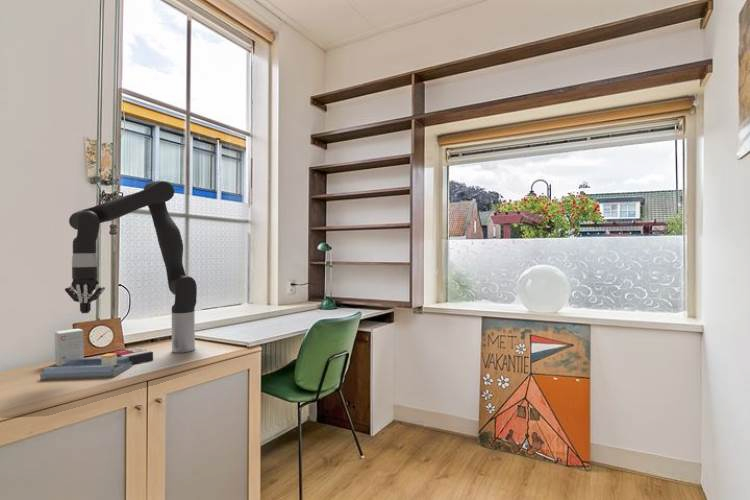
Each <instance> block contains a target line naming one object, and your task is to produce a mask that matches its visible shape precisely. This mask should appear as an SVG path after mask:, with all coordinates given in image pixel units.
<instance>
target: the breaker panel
mask: <svg viewBox="0 0 750 500" xmlns="http://www.w3.org/2000/svg"><path fill="white" fill-rule="evenodd" d="M132 367H133V365H132V361H129V357H117V364H116V365H115V366H114V365H101V357H84V358H72V359H66V360H65V364H63V365H60V366H58V365H57V366H47V367H45V368H43V372H42V373H40V375H39V377H40V378H39V379H40V381H48V380H51V381H52V380H72V379H74V380H75V379H76V380H77V379H80V380H81V379H100V378H101V379H102V378H116V377H117V376H118V375H120V374H122V373H124V372H125V371H127V370H129V369H130V368H132Z"/></svg>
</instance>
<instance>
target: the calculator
mask: <svg viewBox="0 0 750 500" xmlns="http://www.w3.org/2000/svg"><path fill="white" fill-rule="evenodd" d="M111 353H117V357H129V361H132V366H133V365H137V364H142V362H143V363H147V362H151V361H154V352H153V351H151V350H148V349H146V348H142V347H140V346H139V347H137V346H136V347H131V348H126V349H121V350H115V351H111Z"/></svg>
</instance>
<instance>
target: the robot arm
mask: <svg viewBox="0 0 750 500" xmlns="http://www.w3.org/2000/svg"><path fill="white" fill-rule="evenodd" d="M174 195H175V188H174V186H173V184H172V183H171V182H169V181H167V180H163V179H161V180H154V181H151V182H148V183H146V184H145V185H144V187H143V190H140V191H137V192H134V193H130V194H127V195H123V196H120V197H117V198H116V197H115V198H114V199H111V200H108V201H106V202H103V203H100V204H98V205H96V206H91V207H88V208H85V209H82V210H78V211H75V212H73V213H72V214H71V215H70V217H69V219H68V223H69V226H70V228H73V229H74V230H76V231H77V232H76V233H77V234H76V237H74V239H72V240H73V241H72V257H71V279H72V282H71V284H70V286H68V287H66V288H64V291H65V292H66V293H67V294H68V296H69V297H70V298H71V299H72V301H74V302H76V303H79V312H81V314H89V313H90V312H91V310H92V309H91V308H92V307H91V303H92V302H94V301H97V299H99V297H100V296H101V294H102V293H103V292H104V291H105V290H106V287H104V286H101V285H100V284H99V281H98V255H97V240H98V237H99V231H100V227H101V223H102V224H103V223H106V222H111V221H113V220H117V219H118V218H121V217H123V216H127V215H129V214H131V213H133V212H136V211H138V210H140V209H142V208H145V207H148V211H149V212H150V215H151V218H152V223H153V226H154V229H155V234H156V238H157V241H158V245H159V249H160V253H161V257H162V259H163V263H164V267H165V271H166V278H167V285H168V288H169V291H170V293H171V294H172V295H174V303H173V305H172V306H171V352H172V353H175V354H177V353H179V354H181V353H188V352H193V351H194V350H195V349H196V346H195V345H196V344H195V343H196V341H195V339H196V334H195V333H196V332H195V331H196V330H195V327H196V325H195V323H196V321H195V317H196V315H195V311H196V310H195V309H196V305H197V295H198V293H197V292H198V289H197V288H198V287H197V283H196V282H197V281H196V280H195V279H194V278H193V277H192V276H188V275H187V274H186V272H185V269H184V265H183V256H184V255H183V254H184V243H183V238H182V235H181V231H180V229H179V227H178V225H177V224H176V223H175V221H174V220H173V218H172V217H171V216H170V214H169V211H168V207H167V205H166V203H167V202H169V201H170V200H172V199H173V197H174Z"/></svg>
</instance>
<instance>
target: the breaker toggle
mask: <svg viewBox="0 0 750 500" xmlns="http://www.w3.org/2000/svg"><path fill="white" fill-rule="evenodd" d="M100 358H101V365H114V366H115V365H116V364H117V353H112V352H111V353H105V354H103V355H100Z"/></svg>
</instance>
